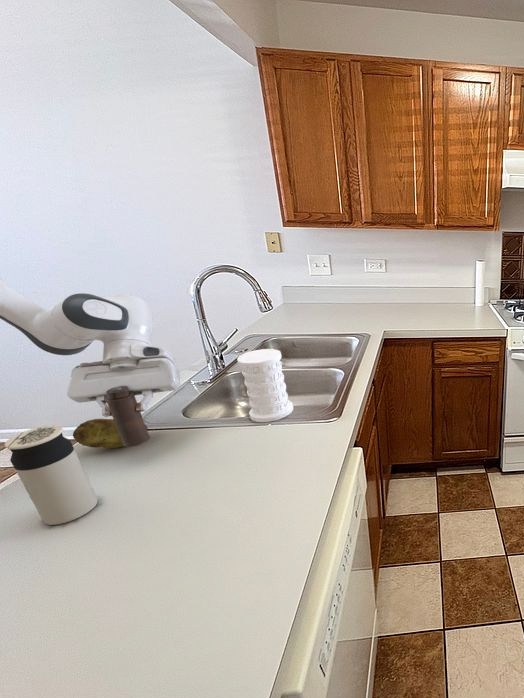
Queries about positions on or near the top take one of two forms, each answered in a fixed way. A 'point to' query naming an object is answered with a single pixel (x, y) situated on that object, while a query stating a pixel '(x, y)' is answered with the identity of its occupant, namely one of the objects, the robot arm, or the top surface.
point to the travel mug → (52, 474)
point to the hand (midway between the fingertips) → (125, 413)
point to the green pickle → (98, 434)
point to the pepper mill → (126, 416)
